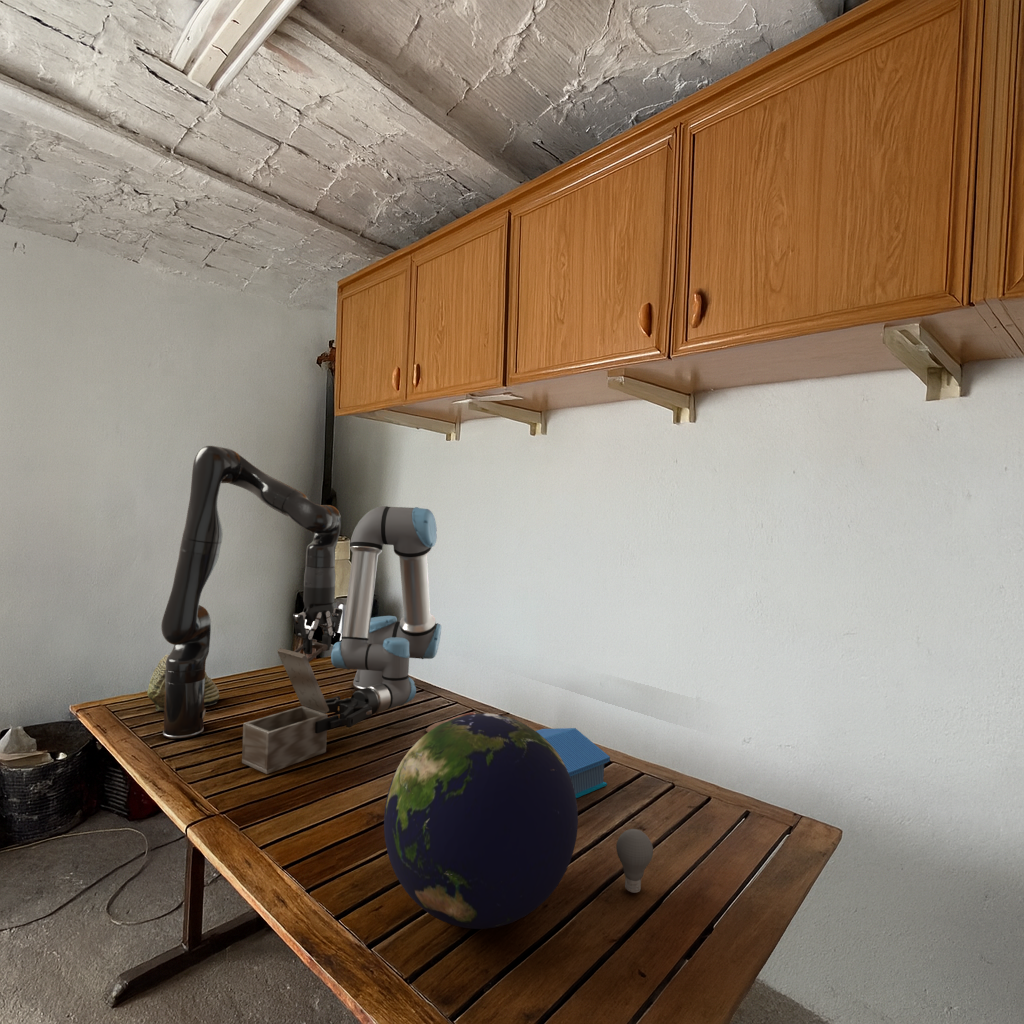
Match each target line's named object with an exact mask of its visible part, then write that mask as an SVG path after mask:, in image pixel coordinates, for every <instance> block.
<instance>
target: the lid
mask: <svg viewBox="0 0 1024 1024" xmlns="http://www.w3.org/2000/svg"><path fill="white" fill-rule="evenodd" d="M327 648H328V646H327V645H326V644H322V642H318V641H314V640H313V641H312V649H315V650H316V651H314V652H312V654H310V655H309V656H307V654H305V653H301V651H303V643H302V644H301V645H299V646H298V647H297V648H296V649H295V650H290V649H285V648H282V647H280V648H278V649H277V654H278V656H279V658H280V661H281V663H282V665H283V668H284V669H285V671H286V674H287V676H288V678H289V679H288V680H289V681H290V683H291V685H292V687H293V690H294V692H295V694H296V697H297V699H298V701H299V704H300V705H301V706H304V707H309V708H312V709H315V710H318V711H321V712H324V713H326V714H328V713H327V712H328V711H329V708H328V706H327V704H326V701H325V699H326V698H325V696H324V694H323V692H322V690H321V687H320V685H319V683H318V680H317V678H316V676H315V673H314V670H313V668H312V666H311V664H310V662H311V661H313V660H314V659H315V658H316V657H317V656H318V655H319V654H321V653H322V652H327V651H328V650H327ZM326 650H327V651H326Z"/></svg>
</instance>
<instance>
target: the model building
mask: <svg viewBox="0 0 1024 1024" xmlns="http://www.w3.org/2000/svg"><path fill="white" fill-rule="evenodd" d="M535 731H536V732H537V733H539V734H540V735H541V736H542V737H543V738H545V739H546V740H547V741H548V742H549V743H550V745H551V746H552V747H553V748H554V749H555V750H556V751H557V753H558V754H559V756H560V757H561V759H562V761H563V763H564V764H565V766H566V768H567V771H568V773H569V775H570V778H571V781H572V784H573V787H574V791H575V795H576V799H578V798H580V797H582V796H586V795H588V794H591V793H592V792H594V791H597V790H599V789H602V788H604V787H606V786H608V783H607V782H606V781H604V776H605V764H607V763H609V762H611V756H610V755H608V754H607V753H606V752H605V751H604V750H602V749H601V748H600V746H598V745H596V744H595V743H594V742H593V741H592V740H591V739H589V738H588V737H587V736H586V735H584V734H583V733H582V732H581V731H579V730H578V729H577V728H576V727H568V728H567V727H564V728H563V727H562V728H561V727H560V728H541V729H537V730H535Z"/></svg>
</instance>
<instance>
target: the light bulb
mask: <svg viewBox="0 0 1024 1024" xmlns="http://www.w3.org/2000/svg"><path fill="white" fill-rule="evenodd" d="M615 849H616V854H617V857H618V859H619V861H620V863H621V865H622V867H623V873H624V874H623V875H624V876H625V878H624V888H625V890H627V891H628V892H630V893H634V894H635V893H639V892H640V891H641V889H642V887H641V886H642V879H643V877H644V875H645V871H646V868H647V867H648V866H649V864H650V863H651V861H652V859H653V855H654V847H653V843H652V841H651V838H649V836H648V835H647V834H646V833H645V832H643V831H642V830H641V829H636V828H629V829H627V830H625V831H623V832H622V833H621V834H620V835H619V837H618V839H617V841H616V847H615Z"/></svg>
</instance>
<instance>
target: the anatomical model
mask: <svg viewBox="0 0 1024 1024" xmlns="http://www.w3.org/2000/svg"><path fill="white" fill-rule="evenodd" d="M472 714H477V713H476V712H473V711H471V712H467V713H463V714H459V715H457V716H454V717H451V718H448V719H445V720H442V721H437V722H435V723H433V724H431V725H429V726H428V727H427V728H425V732H426V733H428V732H429V731H431V730H432V729H434V728H435V727H437V726H438V725H440V724H442V723H444V722H447V721H449V720H451V719H454V718H457V717H461V716H465V715H472Z"/></svg>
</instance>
